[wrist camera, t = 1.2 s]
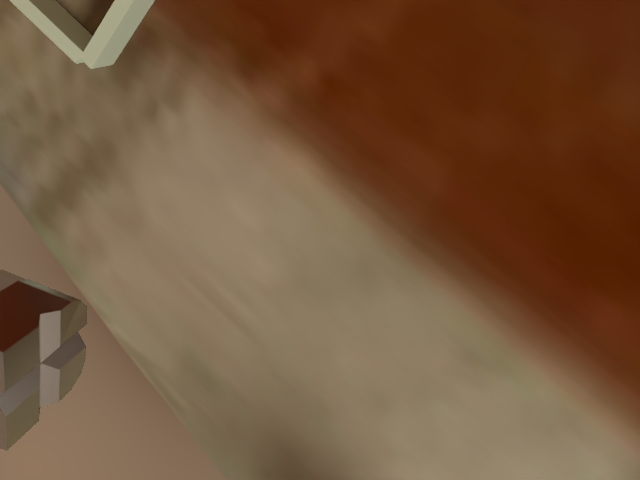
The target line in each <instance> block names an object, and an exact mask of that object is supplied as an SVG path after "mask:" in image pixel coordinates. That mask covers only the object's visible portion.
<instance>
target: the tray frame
mask: <svg viewBox="0 0 640 480" xmlns="http://www.w3.org/2000/svg"><path fill="white" fill-rule="evenodd" d="M10 1H11V2H12V3H13V4H14V5H15V6H16V7H17V8H18V9H19V10H20V11H21V12H22V13H23V14H25V15H26V16H27V17H28V18H29V19H30V20H31V21H32V22H33V23H34V24H35V25H36V26H37V27H38V28H39V29H40V30H41V31H42V32H43V33H44V34H45V35H47V36H48V37H49V38H50V39H51V40H52V41H53V42H54V43H55V44H56V45H57V46H58V47H59V48H60V49H61V50H62V51H63V52H64V53H65V54H66V55H67V56H69V57H70V58H71V59H72V60H73V61H74V62H75V63H76V64H78V63H83V62H84V63H85V64H86V65H88V66H89V67H90V68H91V69H93V68H99V67H104V66H109V65H113V64H114V63H115V61H116V60H117V58H118V56H119V55H120V53H121V52H122V50H123V49H124V47H125V46H126V44H127V43H128V41H129V39H130V38H131V36H132V35H133V33H134V32H135V30H136V29H137V27H138V25H139V24H140V22H141V21H142V19H143V18H144V16H145V15H146V13H147V12H148V10H149V8H150V7H151V5H152V4H153V2H154V1H155V0H115V1H114V2H113V4H112V5H111V7H110V9H109V10H108V12H107V14H106V15H105V17H104V19H103V20H102V22H101V24H100V25H99V27H98V29H97V30H96V32H95V33H94V35H93V36H92V35H91V34H90V33H89V32H88V31H87V30H86V29H85V28H84V27H83V26H82V25H81V24H80V23H79V22H78V21H77V20H76V19H75V18H74V17H73V16H71V15H70V14H69V13H68V12H67V11H66V10H65V9H64V8H63V7H62V6H61V5H60V4H59V3H58V2H57V1H56V0H10Z"/></svg>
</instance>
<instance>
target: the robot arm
mask: <svg viewBox="0 0 640 480" xmlns="http://www.w3.org/2000/svg"><path fill="white" fill-rule="evenodd" d="M86 324H87V306H86V305H85V304H84V303H83V302H82V301H81V300H79V299H76V298H74V297H71V296H69V295H66V294H64V293H61V292H59V291H56V290H54V289H51V288H49V287H46V286H43V285H41V284H38V283H36V282H33V281H31V280H26V279H24V278H22V277H19V276H17V275H14V274H12V273H9V272H7V271H4V270H0V448H1V449H4V450H6V451H7V450H8V449H9V448H10V447H11V446H12V445H13V444H15V443H16V442H17V441H18V440H19V439H20V438H21V437H22V436H23V435H24V434H25V433H26V432H27V431H28V430H30V429H31V428H32V427H33V426H34V425H35V424H36V423H37V422H38V421H39V414H40V408H41V407H44V406H47V405H50V404H54V403H57V402H59V401H60V400H61V399H62V398H63V397H64V396H65V395H66V394H67V393H68V392H69V391H70V390H71V389H72V388H73V386H74V384H75V383H76V381H77V379H78V378H79V376H80V374H81V372H82V369H83V366H84V362H85V356H86V346H85V344H84V342H83V340H82V339H81V336H80V335H79V333H78V331H80V330H81V329H82V328H83V327H84V326H85V325H86Z"/></svg>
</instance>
